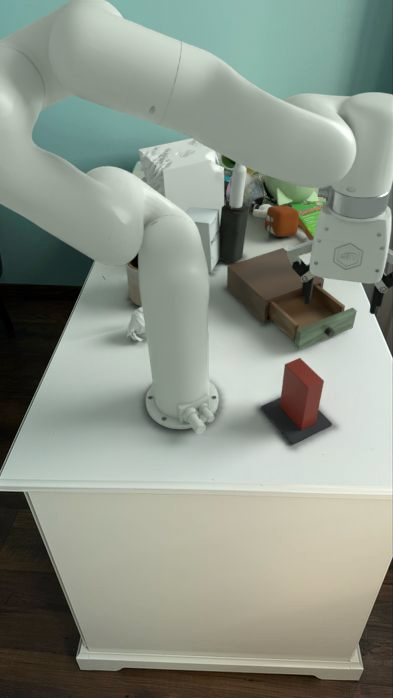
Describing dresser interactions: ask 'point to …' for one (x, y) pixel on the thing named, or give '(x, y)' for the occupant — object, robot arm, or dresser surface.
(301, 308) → the drawer
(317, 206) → the game box
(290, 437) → the pad
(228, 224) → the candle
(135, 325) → the figurine
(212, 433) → the dresser surface
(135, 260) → the planter
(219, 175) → the tissue box
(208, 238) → the white packaging box
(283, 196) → the toy
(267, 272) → the cabinet
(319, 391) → the book
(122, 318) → the dresser surface
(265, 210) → the toy
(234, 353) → the dresser surface
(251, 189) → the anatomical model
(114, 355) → the dresser surface
